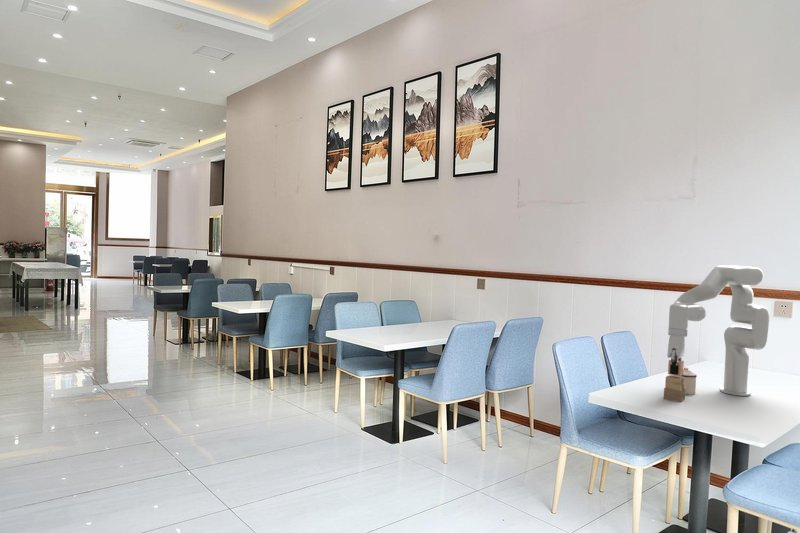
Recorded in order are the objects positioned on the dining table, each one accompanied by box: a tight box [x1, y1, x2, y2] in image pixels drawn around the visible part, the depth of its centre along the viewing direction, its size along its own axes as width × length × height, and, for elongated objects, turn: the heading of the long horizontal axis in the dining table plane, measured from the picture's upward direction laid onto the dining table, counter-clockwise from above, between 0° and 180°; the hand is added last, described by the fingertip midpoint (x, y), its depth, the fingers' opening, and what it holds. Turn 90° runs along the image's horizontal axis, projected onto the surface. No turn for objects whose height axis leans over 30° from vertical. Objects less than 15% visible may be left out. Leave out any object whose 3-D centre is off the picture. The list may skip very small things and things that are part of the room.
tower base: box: [663, 387, 686, 403], centre depth 244 cm, size 7×7×5 cm
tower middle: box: [664, 374, 685, 391], centre depth 244 cm, size 6×6×5 cm
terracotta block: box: [667, 359, 685, 376], centre depth 244 cm, size 5×5×6 cm
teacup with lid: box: [673, 367, 697, 396], centre depth 259 cm, size 12×9×12 cm
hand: (675, 372), depth 244 cm, fingers closed on terracotta block, 5 cm apart
